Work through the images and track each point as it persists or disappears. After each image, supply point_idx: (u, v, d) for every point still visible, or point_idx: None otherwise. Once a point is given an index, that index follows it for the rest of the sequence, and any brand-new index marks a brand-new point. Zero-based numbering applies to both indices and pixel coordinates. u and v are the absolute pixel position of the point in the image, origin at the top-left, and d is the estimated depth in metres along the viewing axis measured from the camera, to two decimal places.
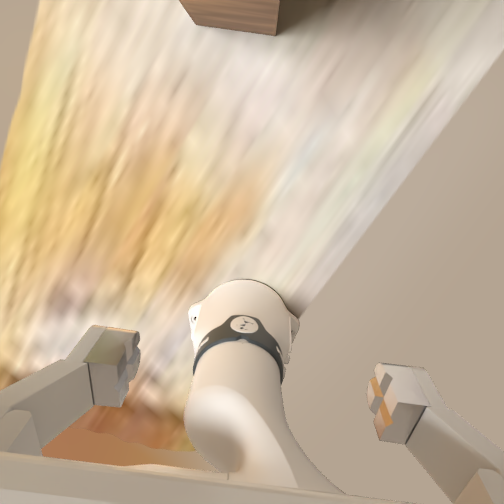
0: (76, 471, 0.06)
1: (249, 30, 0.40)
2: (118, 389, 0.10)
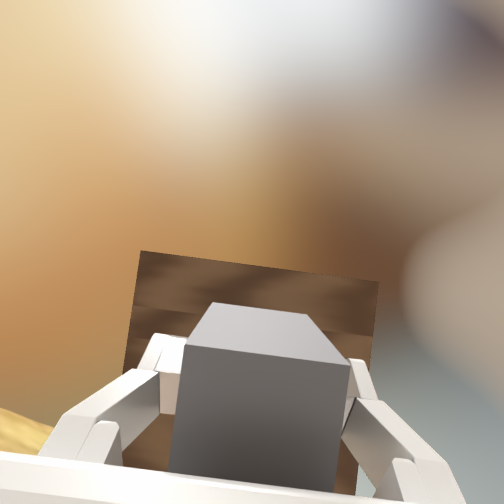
0: (76, 471, 0.06)
1: None
2: None
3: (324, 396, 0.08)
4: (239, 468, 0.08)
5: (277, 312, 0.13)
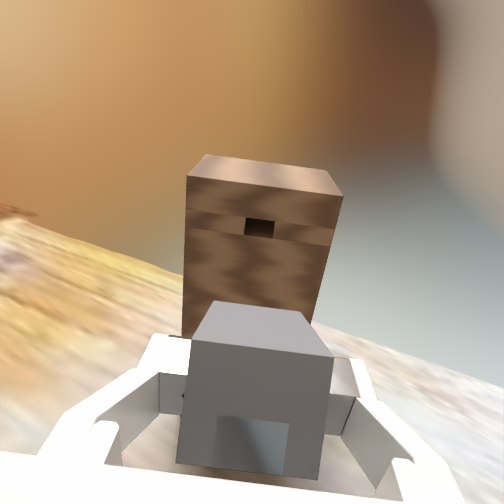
0: (76, 471, 0.06)
1: None
2: None
3: (312, 383, 0.09)
4: (239, 445, 0.09)
5: (273, 309, 0.15)
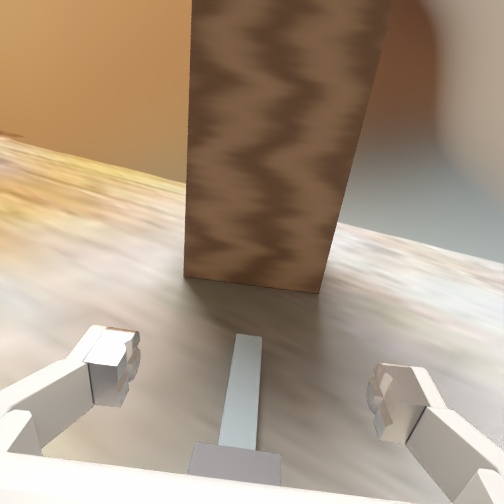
0: (76, 471, 0.06)
1: None
2: (118, 389, 0.10)
3: None
4: None
5: (252, 458, 0.15)
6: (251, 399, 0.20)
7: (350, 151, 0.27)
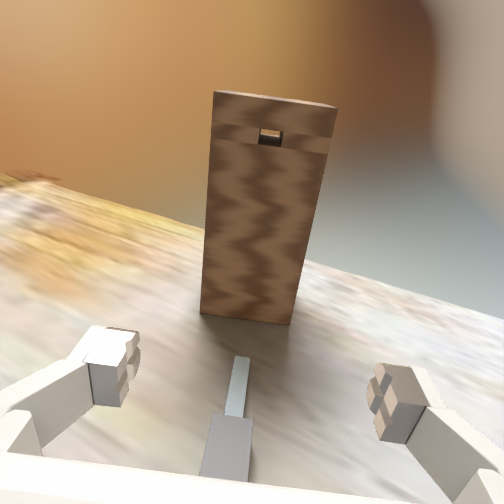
0: (76, 471, 0.06)
1: None
2: (118, 389, 0.10)
3: None
4: None
5: (240, 420, 0.32)
6: (241, 394, 0.37)
7: (305, 242, 0.44)
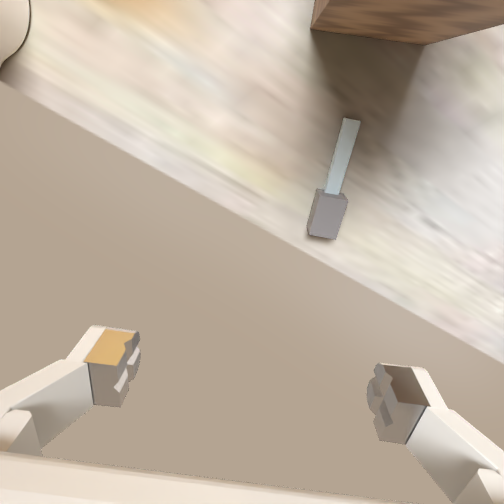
0: (76, 471, 0.06)
1: None
2: (118, 389, 0.10)
3: None
4: None
5: (338, 201, 0.45)
6: (344, 164, 0.45)
7: (493, 24, 0.27)
